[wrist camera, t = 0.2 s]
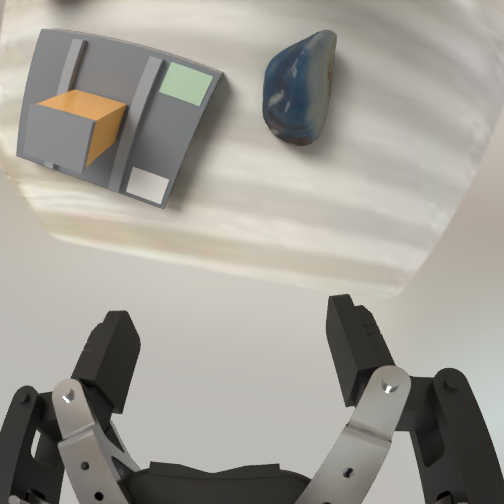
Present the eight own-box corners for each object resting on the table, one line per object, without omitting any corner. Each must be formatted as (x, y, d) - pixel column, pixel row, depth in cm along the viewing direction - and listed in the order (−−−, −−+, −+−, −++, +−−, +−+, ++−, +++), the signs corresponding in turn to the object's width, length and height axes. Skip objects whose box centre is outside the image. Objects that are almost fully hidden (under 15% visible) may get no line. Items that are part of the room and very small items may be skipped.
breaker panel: (56, 28, 18) (36, 29, 15) (223, 72, 24) (220, 74, 21) (29, 146, 26) (12, 158, 23) (169, 196, 32) (162, 213, 29)
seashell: (276, 160, 27) (372, 131, 20) (225, 81, 23) (316, 28, 16) (301, 135, 31) (382, 108, 23) (258, 66, 27) (337, 25, 19)
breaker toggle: (74, 88, 20) (29, 105, 15) (128, 103, 22) (92, 122, 16) (65, 127, 23) (23, 153, 17) (115, 143, 25) (81, 173, 19)
